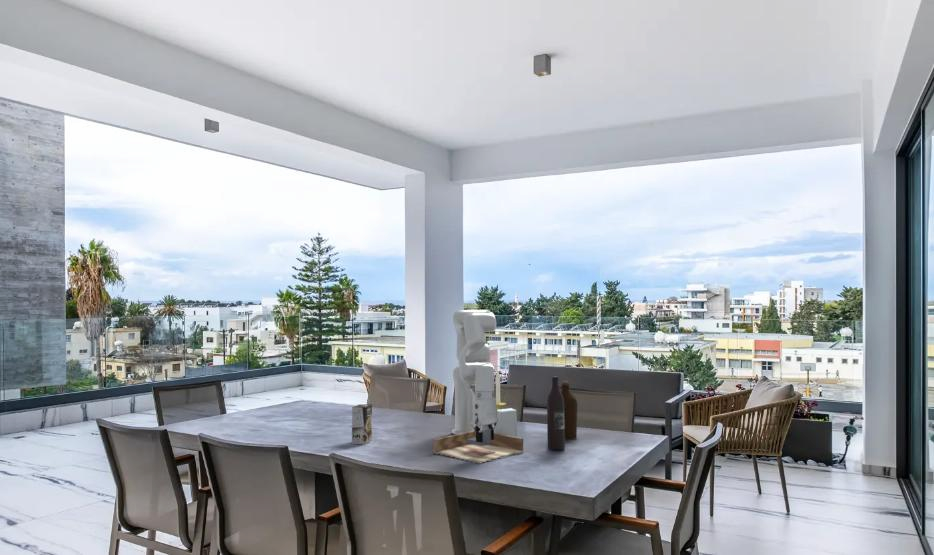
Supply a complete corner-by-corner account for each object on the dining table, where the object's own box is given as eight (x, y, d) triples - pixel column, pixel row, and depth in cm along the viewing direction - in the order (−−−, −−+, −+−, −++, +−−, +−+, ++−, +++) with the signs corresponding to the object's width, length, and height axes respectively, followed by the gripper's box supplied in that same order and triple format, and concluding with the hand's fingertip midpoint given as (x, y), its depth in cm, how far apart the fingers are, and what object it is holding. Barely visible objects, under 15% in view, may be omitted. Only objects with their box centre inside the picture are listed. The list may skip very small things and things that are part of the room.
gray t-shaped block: (491, 443, 254) (491, 428, 255) (481, 446, 250) (481, 430, 250) (475, 440, 260) (475, 426, 261) (465, 443, 256) (465, 428, 256)
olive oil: (569, 434, 294) (569, 379, 295) (582, 438, 284) (581, 382, 286) (549, 436, 290) (549, 381, 291) (562, 440, 280) (561, 383, 282)
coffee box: (365, 444, 275) (365, 407, 275) (351, 444, 276) (351, 406, 277) (372, 440, 284) (372, 404, 284) (359, 439, 285) (359, 403, 286)
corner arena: (476, 443, 276) (476, 430, 277) (523, 452, 258) (523, 438, 259) (433, 453, 257) (433, 439, 258) (480, 463, 240) (480, 448, 240)
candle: (487, 424, 320) (486, 370, 321) (489, 421, 330) (489, 368, 331) (507, 424, 318) (506, 370, 320) (509, 421, 328) (508, 369, 330)
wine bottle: (554, 451, 258) (553, 377, 260) (544, 448, 265) (543, 376, 266) (568, 450, 262) (567, 376, 263) (558, 446, 268) (557, 375, 269)
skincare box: (512, 442, 278) (511, 407, 279) (517, 444, 272) (517, 409, 273) (494, 443, 275) (494, 408, 276) (499, 446, 269) (499, 411, 270)
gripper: (476, 398, 245) (477, 445, 244) (505, 393, 257) (506, 438, 257) (462, 396, 250) (463, 443, 249) (491, 392, 263) (492, 436, 262)
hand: (485, 440), depth 253 cm, fingers closed on gray t-shaped block, 6 cm apart
